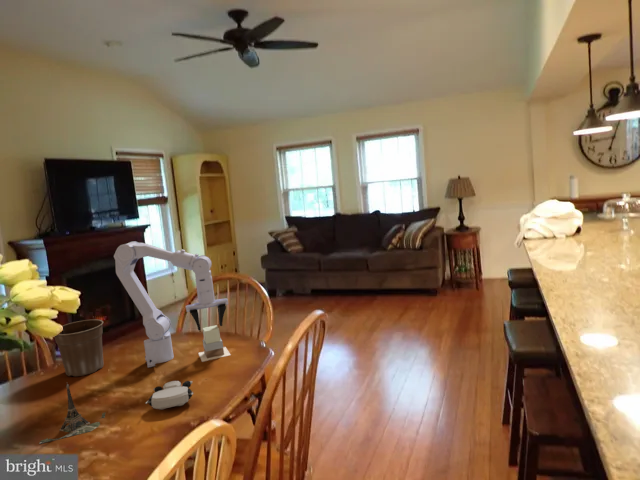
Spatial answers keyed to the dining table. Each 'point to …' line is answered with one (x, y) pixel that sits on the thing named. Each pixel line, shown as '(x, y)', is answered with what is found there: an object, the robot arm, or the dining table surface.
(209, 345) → the light grey flat block
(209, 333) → the sage block
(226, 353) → the cream board
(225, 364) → the dining table surface
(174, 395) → the robot toy
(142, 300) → the robot arm
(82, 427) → the eiffel tower figurine
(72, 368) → the plant pot
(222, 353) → the walnut slab
